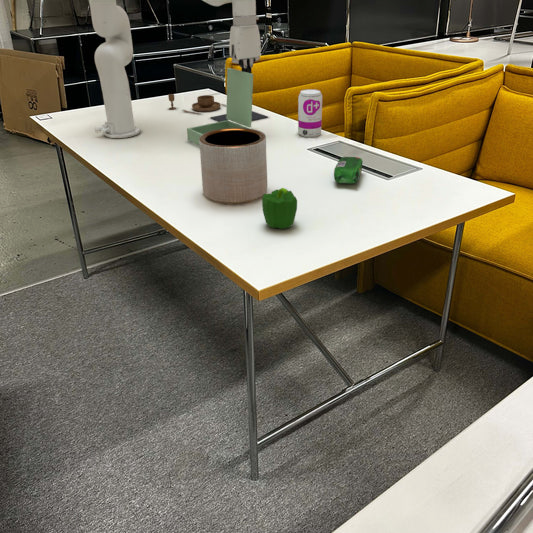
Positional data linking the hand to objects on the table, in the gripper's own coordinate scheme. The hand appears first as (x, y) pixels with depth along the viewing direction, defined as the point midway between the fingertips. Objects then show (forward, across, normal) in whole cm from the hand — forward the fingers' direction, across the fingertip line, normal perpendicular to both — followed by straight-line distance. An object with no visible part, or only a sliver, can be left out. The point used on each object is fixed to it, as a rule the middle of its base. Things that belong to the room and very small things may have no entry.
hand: (246, 79), depth 190 cm
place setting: (+20, -7, -47) cm, 51 cm away
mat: (+19, -10, -22) cm, 31 cm away
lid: (+6, +4, 0) cm, 7 cm away
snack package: (+20, +3, +54) cm, 57 cm away
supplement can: (+20, -17, +13) cm, 29 cm away
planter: (+20, +34, +42) cm, 57 cm away
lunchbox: (+19, +12, 0) cm, 23 cm away
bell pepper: (+20, +37, +66) cm, 78 cm away
